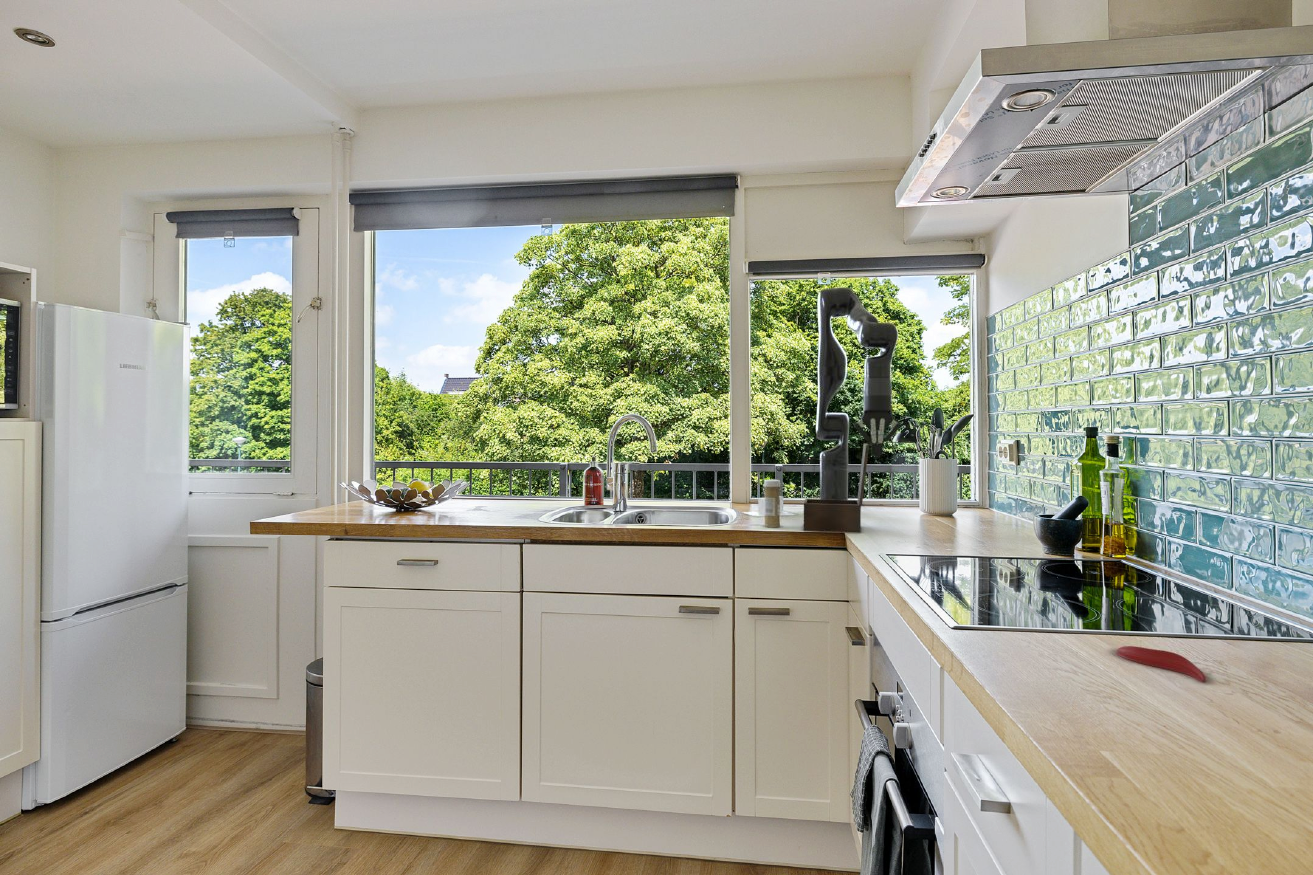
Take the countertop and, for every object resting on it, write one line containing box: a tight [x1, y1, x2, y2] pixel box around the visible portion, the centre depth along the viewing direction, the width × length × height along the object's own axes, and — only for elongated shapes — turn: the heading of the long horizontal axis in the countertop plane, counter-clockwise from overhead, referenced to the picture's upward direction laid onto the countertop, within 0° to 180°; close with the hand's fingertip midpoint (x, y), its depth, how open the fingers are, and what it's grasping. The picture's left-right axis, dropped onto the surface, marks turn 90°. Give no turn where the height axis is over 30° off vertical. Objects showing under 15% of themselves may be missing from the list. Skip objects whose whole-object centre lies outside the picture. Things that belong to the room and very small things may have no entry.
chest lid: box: [857, 443, 870, 504], centre depth 207 cm, size 16×13×1 cm
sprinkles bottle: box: [763, 479, 781, 528], centre depth 213 cm, size 5×5×13 cm
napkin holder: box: [741, 495, 796, 517], centre depth 243 cm, size 15×11×6 cm
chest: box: [803, 498, 862, 534], centre depth 209 cm, size 15×13×8 cm
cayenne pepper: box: [1116, 645, 1207, 683], centre depth 91 cm, size 12×5×2 cm, turn 8°
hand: (876, 456), depth 206 cm, fingers closed
